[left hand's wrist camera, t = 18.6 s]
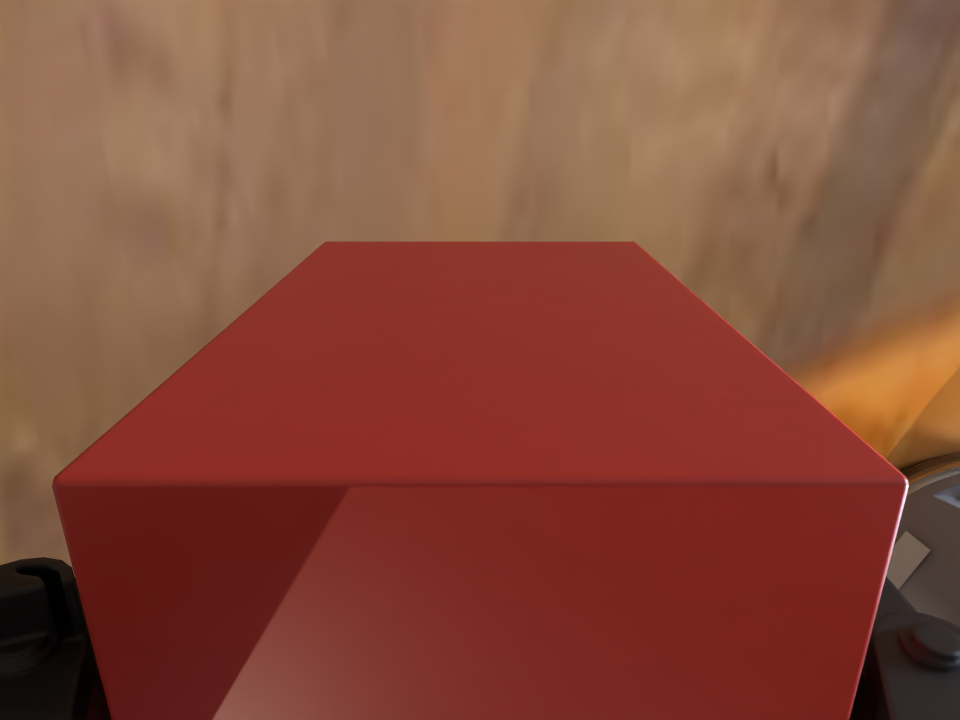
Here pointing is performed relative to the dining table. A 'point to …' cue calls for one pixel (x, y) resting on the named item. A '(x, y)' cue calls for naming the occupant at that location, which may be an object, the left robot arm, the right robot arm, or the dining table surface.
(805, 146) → the dining table surface
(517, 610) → the block
